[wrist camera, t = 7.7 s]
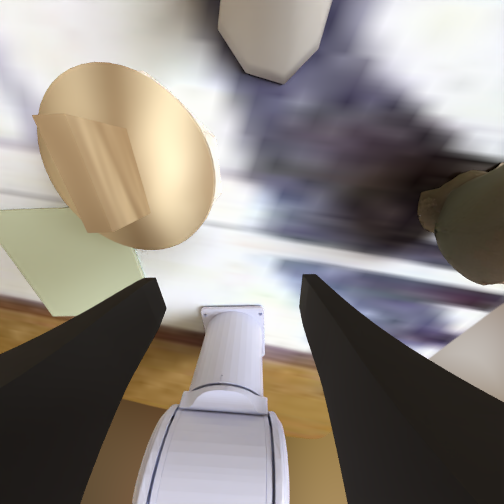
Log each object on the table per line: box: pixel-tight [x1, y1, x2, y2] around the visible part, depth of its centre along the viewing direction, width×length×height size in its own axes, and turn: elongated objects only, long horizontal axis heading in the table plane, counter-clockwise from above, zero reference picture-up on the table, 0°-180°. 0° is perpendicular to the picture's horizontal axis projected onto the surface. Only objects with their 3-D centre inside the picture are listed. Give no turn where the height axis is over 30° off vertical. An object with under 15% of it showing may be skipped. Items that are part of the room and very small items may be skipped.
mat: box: [0, 207, 145, 316], centre depth 21 cm, size 14×14×1 cm
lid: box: [32, 62, 216, 250], centre depth 11 cm, size 11×11×5 cm
